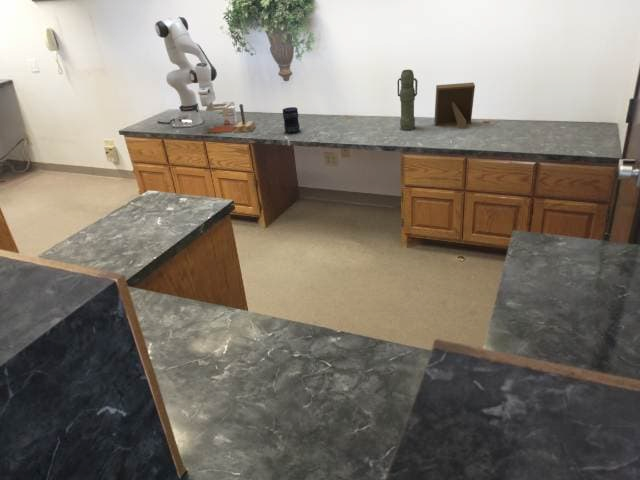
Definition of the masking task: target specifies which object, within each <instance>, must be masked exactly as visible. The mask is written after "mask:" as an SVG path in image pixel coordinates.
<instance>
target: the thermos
mask: <svg viewBox="0 0 640 480" xmlns="http://www.w3.org/2000/svg"><path fill="white" fill-rule="evenodd" d="M418 82H419V81H418V79H417V78H416V77H415V75H414V71H413V70H412V69H403V70H402V71H401V75H400V77H399V78H398V79H397V96H398V97H399V101H400V119H399V122H400V123H399V124H400V125H399V126H400V130H402V131H413V130H415V124H416V118H415V100H416V96H417V95H418ZM414 84H415V85H414Z"/></svg>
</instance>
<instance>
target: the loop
mask: <svg viewBox="0 0 640 480" xmlns="http://www.w3.org/2000/svg"><path fill="white" fill-rule="evenodd" d="M230 106H231V103H223V102H222V103H221V102H220V103H213V105H212V107H213V108H211V111H210V112H216V111H222V110H226V109H228V108H229V107H230ZM205 111H206V112H209V111H208V108H207V107H206V108H205Z"/></svg>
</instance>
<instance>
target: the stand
mask: <svg viewBox="0 0 640 480" xmlns="http://www.w3.org/2000/svg"><path fill="white" fill-rule="evenodd" d="M239 110H240V117H241V121H237V123H236V124H234V125H233V126H234V127H233V128H234V129H233V133H234V134H235V133H252V132H253V130H254V129H255V128H256V121H255V120H251V121H246V118H245V111H244V105H243V104H242V103H240V104H239Z"/></svg>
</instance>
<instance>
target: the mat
mask: <svg viewBox="0 0 640 480" xmlns="http://www.w3.org/2000/svg"><path fill="white" fill-rule="evenodd" d="M234 126H235V125H219V126H213V127H212V128H211V129H210V130H209V131H208V134H215V133H231V132H232V131H234V128H233V127H234Z"/></svg>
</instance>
